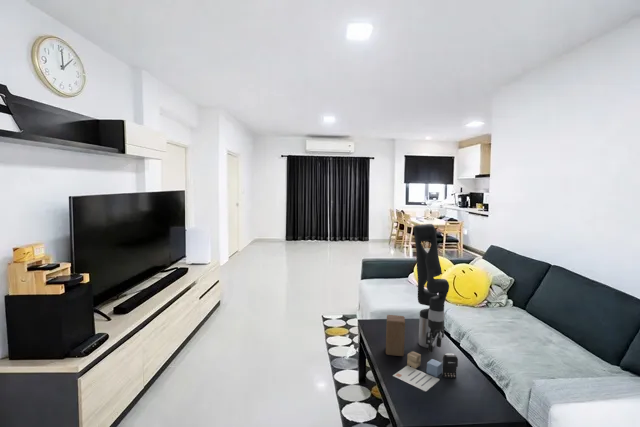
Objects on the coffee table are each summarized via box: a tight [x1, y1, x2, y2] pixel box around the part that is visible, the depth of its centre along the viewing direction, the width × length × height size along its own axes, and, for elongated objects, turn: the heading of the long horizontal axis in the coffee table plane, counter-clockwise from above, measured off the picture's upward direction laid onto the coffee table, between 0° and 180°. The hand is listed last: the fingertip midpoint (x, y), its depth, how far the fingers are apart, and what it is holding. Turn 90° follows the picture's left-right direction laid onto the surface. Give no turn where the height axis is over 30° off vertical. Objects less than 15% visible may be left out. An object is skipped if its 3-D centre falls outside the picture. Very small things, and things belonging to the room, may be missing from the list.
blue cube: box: [426, 358, 442, 378], centre depth 175 cm, size 6×6×6 cm
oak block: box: [406, 350, 422, 369], centre depth 182 cm, size 5×5×6 cm
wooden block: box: [385, 314, 406, 357], centre depth 196 cm, size 10×10×20 cm
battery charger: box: [441, 353, 459, 379], centre depth 171 cm, size 7×4×11 cm, turn 88°
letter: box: [392, 364, 440, 392], centre depth 170 cm, size 14×18×1 cm
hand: (434, 349), depth 174 cm, fingers open, 8 cm apart
